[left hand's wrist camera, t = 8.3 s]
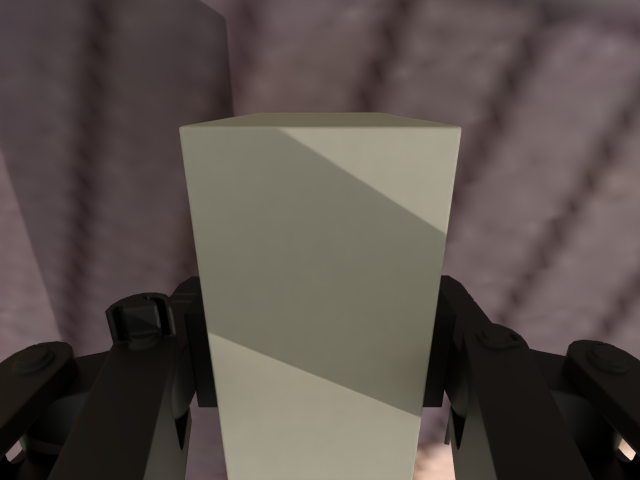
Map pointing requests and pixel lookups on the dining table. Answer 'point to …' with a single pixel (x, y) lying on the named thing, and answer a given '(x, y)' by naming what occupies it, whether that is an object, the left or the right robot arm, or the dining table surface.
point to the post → (320, 285)
